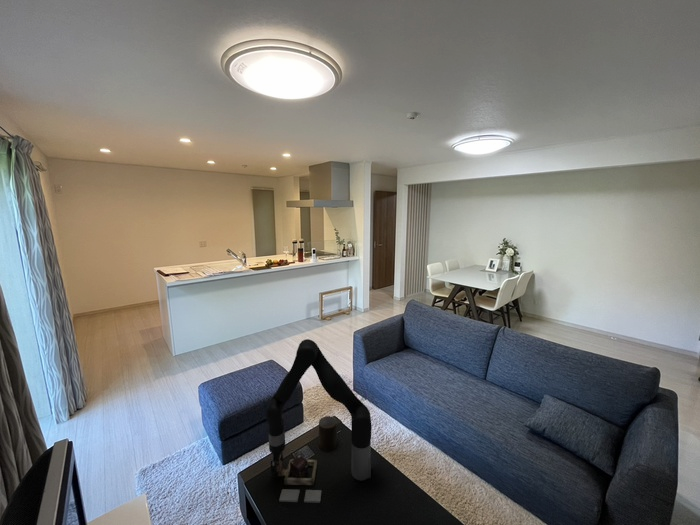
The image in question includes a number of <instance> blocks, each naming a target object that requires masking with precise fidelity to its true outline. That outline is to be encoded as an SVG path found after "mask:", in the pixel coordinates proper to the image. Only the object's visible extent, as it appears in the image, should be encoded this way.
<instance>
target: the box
mask: <svg viewBox="0 0 700 525" xmlns="http://www.w3.org/2000/svg"><path fill="white" fill-rule="evenodd" d="M292 459H293V460H292V461H291V462H290V477H291V478H306V476H307V475H308V473H309V472H308V469H309V468H308V467H309V466H307V460H308V459H306V458H305V457H303V456H302V455H300V454H298V455H297V456H296V457H294V458H292Z"/></svg>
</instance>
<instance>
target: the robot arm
mask: <svg viewBox="0 0 700 525" xmlns="http://www.w3.org/2000/svg"><path fill="white" fill-rule="evenodd" d="M310 367H312V368H313V369H314V371H315V373H316V375H317V379H318V380H319V382H320V384H321V386H322V388H323V389H324V390H325V392H326V393H327V394H328V396H329V397H330V398H331V399H333V400H334V401H336V402H338V403H340V404H342V405H343V406H344V407H345V408H346V409H347V411H348V413H349V414H350V418H351V422H350V423H351V427H350V428H351V468H350V469H351V475H352V477H353V478H354V479H355V480H357V481H361V482H362V481H365V480H367V479H371V477H372V476H371V475H372V474H371V472H372V471H371V469H372V468H371V466H372V459H371V458H372V457H371V447H372V446H371V445H372V444H371V443H372V442H371V441H372V417H371V416H372V415H371V412H370V409H369V408H368V407H367V406H366V404H364V403H363V402H362V401H361V400H360V399H359V398H358V397H357V395H356V394H354V393H355V392H353V390H352V388H350V387H349V385H348V384H347V383H346V381H345V380H344V379H343V377H342V376H341V375H340V374H339V373H338V371H336V369H335V368H334V367H333V365H332V364H331V363H330V361H328V360H327V358H326V357H325V354H323V352H322V350H321V349H320V347H319V346H318V344H317V343H316V342H315V341H314V340H312V339H303V340H302V341H301V342H300V343H299V345H298V347H297V349H296V353H295V358H294V360H293V363H292V366H291V368H290V370H289V371H288V373H287V374H286V375H285V377H284V378H283V379H282V380H281V383H280V384H279V386H278V388H277V390H276V392H274V394H273V396H272V398H271V399H270V401H269V404H268V406H267V408H266V412H265V417H266V421H267V424H268V449H269V452H270V453H271V454H272V456H271V457H272V459H271V461H270V474H272V477H273V478H274V479H275V478H277V479H278V478H279V476H278V466H279V464H280V460H282V463H283V462H284V451H285V449H286V433H285V421H284V419H283V417H282V416H283V411H284V408H285V405H286V403H287V402H288V401H289V400H290V399H291V397H292V395H293V393H294V392H295V390H296V388H297V387H298V384H299V383H300V381H301V379H302V377H303V376H304V375H305V374H306V372H307V370H309V369H310ZM277 461H278V463H277Z"/></svg>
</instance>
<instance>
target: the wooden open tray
mask: <svg viewBox="0 0 700 525" xmlns="http://www.w3.org/2000/svg"><path fill="white" fill-rule="evenodd" d="M293 459H294V458H292V459H291V458H290V459H289V463H288V465H287V469H285V468H283V462H282V460H280V464H279V466H278V477H284V480H283V481H284V483H283V484H284V485H287V486H292V485H293V486H315V481H316V480H315V479H316V473H317V468H318V460H317V459H306V460H307V467H312V472H311V473H312V474H311V477H304V478H293V477H290V476H291V473H290V462H291V461H292V460H293ZM277 463H278V461H277Z"/></svg>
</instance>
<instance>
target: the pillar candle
mask: <svg viewBox="0 0 700 525" xmlns="http://www.w3.org/2000/svg"><path fill="white" fill-rule="evenodd" d="M337 432H338V431H337V419H336V418H335V417H333V416H330V415H326V416H323V417H321V418H320V419H319V422H318V446H319V448H320V450H322V451H324V452H331V451H333V450H335V449H336V447H337V445H338V444H337V440H338V436H337Z"/></svg>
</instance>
